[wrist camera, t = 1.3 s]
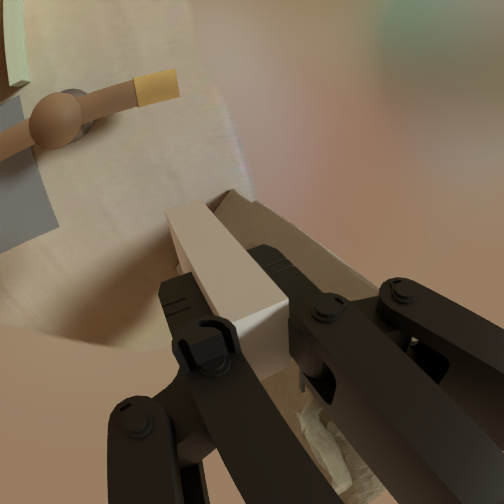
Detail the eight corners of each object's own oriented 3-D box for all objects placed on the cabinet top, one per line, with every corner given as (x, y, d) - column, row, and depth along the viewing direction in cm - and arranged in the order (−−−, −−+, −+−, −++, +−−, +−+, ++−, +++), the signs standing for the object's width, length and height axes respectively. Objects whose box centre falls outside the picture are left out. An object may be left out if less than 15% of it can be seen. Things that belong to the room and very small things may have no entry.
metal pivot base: (40, 101, 18) (27, 101, 15) (89, 81, 20) (85, 78, 16) (52, 149, 21) (41, 159, 18) (100, 131, 23) (97, 136, 19)
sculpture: (212, 304, 39) (348, 512, 15) (160, 283, 34) (288, 548, 10) (282, 211, 36) (494, 386, 13) (235, 176, 31) (503, 388, 8)
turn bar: (-70, 168, 12) (-83, 176, 10) (167, 61, 18) (173, 57, 17) (-57, 208, 14) (-68, 219, 12) (175, 107, 21) (182, 108, 19)
